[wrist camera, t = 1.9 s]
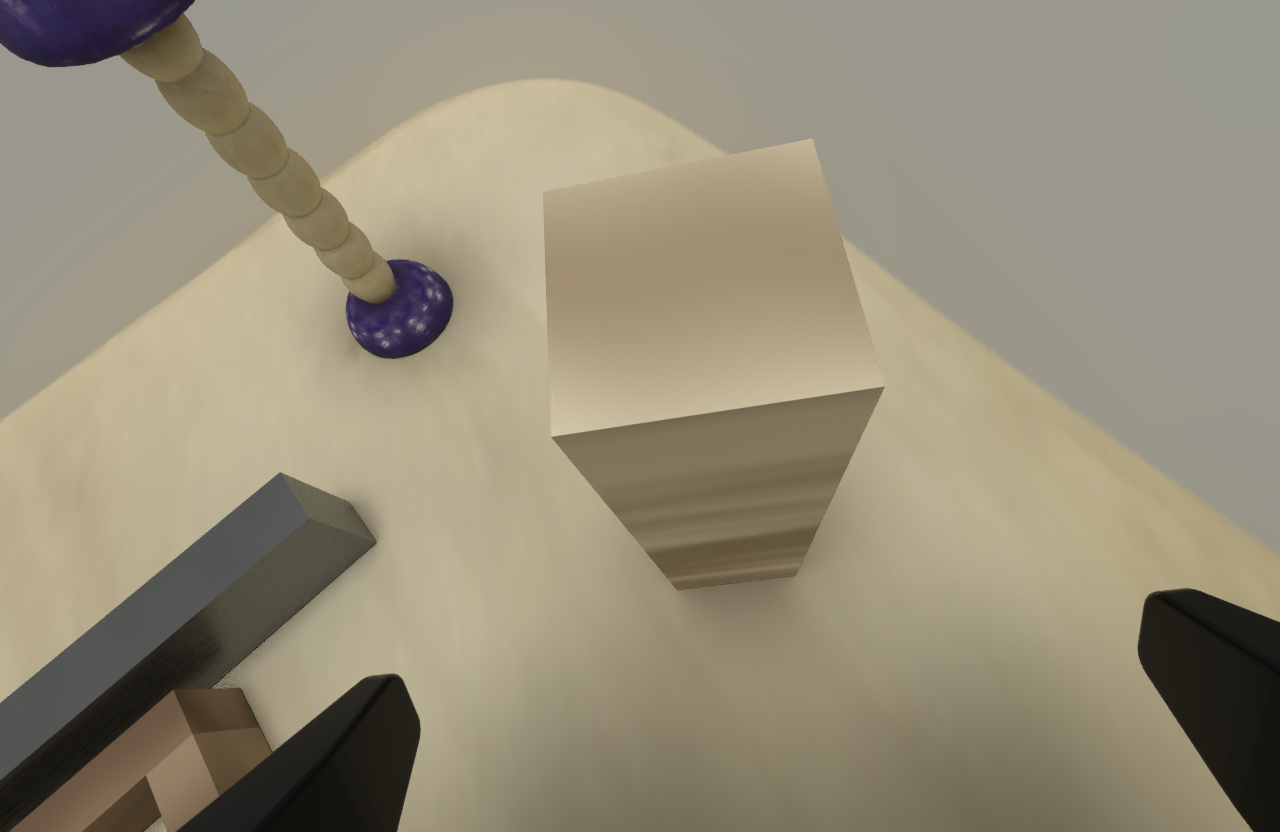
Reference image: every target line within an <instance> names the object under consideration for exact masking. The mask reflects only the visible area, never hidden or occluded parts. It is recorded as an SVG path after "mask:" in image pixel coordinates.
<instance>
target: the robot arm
mask: <svg viewBox="0 0 1280 832" xmlns="http://www.w3.org/2000/svg"><path fill="white" fill-rule="evenodd" d="M1138 656H1139V659H1140V662H1141V665H1142V667H1143V669H1144V671H1145V672H1146V674H1147V676H1148V677H1149V679H1150V680H1151V682H1152V683H1153V685H1154V686H1155V688H1156V689H1157V691H1158V692H1159V694H1160V695H1161V697H1162V698H1163V700H1164V701H1165V703H1166V704H1167V706H1168V708H1169V709H1170V711H1171V712H1172V714H1173V715H1174V717H1175V718H1176V720H1177V721H1178V723H1179V724H1180V726H1181V727H1182V729H1183V730H1184V732H1185V733H1186V735H1187V736H1188V738H1189V739H1190V741H1191V742H1192V744H1193V745H1194V747H1195V748H1196V750H1197V752H1198V753H1199V755H1200V756H1201V758H1202V759H1203V761H1204V762H1205V764H1206V765H1207V767H1208V768H1209V770H1210V771H1211V773H1212V774H1213V776H1214V777H1215V779H1216V780H1217V782H1218V783H1219V785H1220V786H1221V788H1222V789H1223V791H1224V792H1225V794H1226V795H1227V796H1228V798H1229V799H1230V801H1231V802H1232V804H1233V805H1234V806H1235V808H1236V809H1237V811H1238V812H1239V813H1240V815H1241V816H1242V817H1243V819H1244V820H1245V821H1246V823H1247V824H1248V825H1249V827H1250V828H1251V829H1252V830H1253V832H1280V622H1278V621H1275V620H1273V619H1270V618H1268V617H1265V616H1263V615H1260V614H1257V613H1255V612H1252V611H1250V610H1247V609H1245V608H1242V607H1240V606H1237V605H1234V604H1232V603H1229V602H1227V601H1224V600H1222V599H1219V598H1217V597H1214V596H1211V595H1209V594H1206V593H1204V592H1201V591H1198V590H1195V589H1188V588H1183V589H1174V590H1164V591H1156V592H1153V593H1151V594H1149V595H1148V596H1147V598H1146V599H1145V602H1144V607H1143V614H1142V620H1141V627H1140V634H1139V640H1138ZM420 732H421V729H420V720H419V716H418V714H417V712H416V709H415V707H414V705H413V702H412V700H411V698H410V695H409V693H408V690H407V688H406V686H405V683H404V681H403V679H402V678H401V677H400V676H399V675H397V674H382V675H373V676H369V677H366V678H364V679H362V680H361V681H360V682H358V683H357V684H356V685H355V686H354V687H352V688H351V689H350V690H349V691H347V692H346V693H345V694H344V695H343V696H341V697H340V698H339V699H338V700H336V701H335V702H334V703H333V704H331V705H330V706H329V707H328V708H327V709H325V710H324V711H323V712H322V713H320V714H319V715H318V716H317V717H316V718H314V719H313V720H312V721H311V722H309V723H308V724H307V725H306V726H304V727H303V728H302V729H301V730H300V731H298V732H297V733H296V734H295V735H293V736H292V737H291V738H290V739H288V740H287V741H286V742H285V743H284V744H282V745H281V746H280V747H279V748H277V749H276V750H275V751H274V752H272V753H271V754H270V755H269V756H268V757H266V758H265V759H264V760H263V761H261V762H260V763H259V764H258V765H257V766H255V767H254V768H253V769H252V770H250V771H249V772H248V773H247V774H245V775H244V776H243V777H242V778H241V779H239V780H238V781H237V782H236V783H234V784H233V785H232V786H231V787H230V788H228V789H227V790H226V791H225V792H223V793H222V794H221V795H220V796H218V797H217V798H216V799H215V800H214V801H212V802H211V803H210V804H209V805H207V806H206V807H205V808H204V809H202V810H201V811H200V812H199V813H198V814H196V815H195V816H194V817H193V818H191V819H190V820H189V821H188V822H186V823H185V824H184V825H183V826H182V827H180V828H179V829H178V830H177V831H175V832H397V830H398V826H399V821H400V817H401V813H402V809H403V805H404V801H405V797H406V793H407V789H408V785H409V781H410V777H411V773H412V769H413V764H414V760H415V756H416V752H417V748H418V744H419V740H420Z"/></svg>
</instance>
